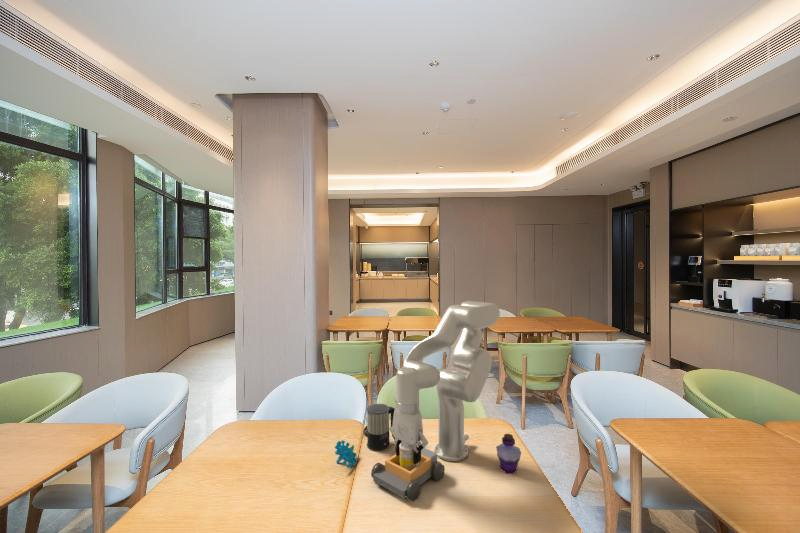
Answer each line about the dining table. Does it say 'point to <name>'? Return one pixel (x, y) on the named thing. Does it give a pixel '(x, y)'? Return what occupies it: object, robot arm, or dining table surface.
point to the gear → (345, 454)
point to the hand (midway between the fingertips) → (408, 457)
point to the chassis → (408, 474)
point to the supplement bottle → (406, 456)
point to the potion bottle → (508, 454)
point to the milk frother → (378, 426)
